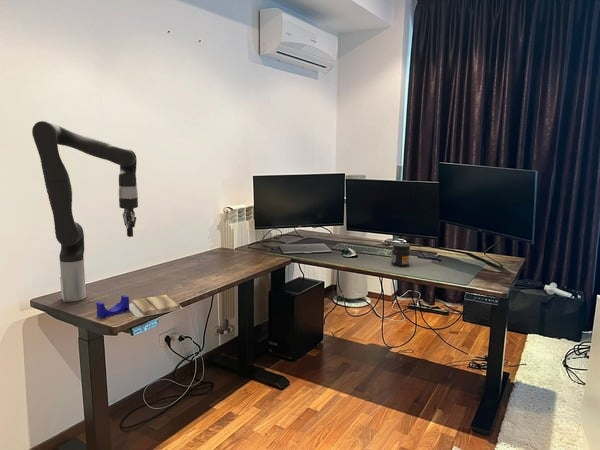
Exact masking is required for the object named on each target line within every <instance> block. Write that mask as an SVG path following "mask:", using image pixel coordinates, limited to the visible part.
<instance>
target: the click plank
mask: <svg viewBox="0 0 600 450" xmlns="http://www.w3.org/2000/svg"><path fill="white" fill-rule="evenodd" d="M145 299H146V300H147V301H148V302H149V303H150V304H151V305H152V306H153V307H155V308H156V311H157V312H158V313H159V312H165V311H170V310H175V309H180V306H181V304H180V303H179V302H177V301H175V299H174V298H172V297H171V296H170V295H169V294H160V295H154V296H149V297H146V298H145Z"/></svg>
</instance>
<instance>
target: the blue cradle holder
mask: <svg viewBox="0 0 600 450" xmlns="http://www.w3.org/2000/svg"><path fill="white" fill-rule="evenodd" d="M129 304H130V297H129V296H128V295H125V294H124V295H121V296H120V301H119V302H118V303H116V304H115V305H114V306H112V307H110V308H109V309H107V307H106V306H105V303H104V302H101V301H96V304H95V305H96V317H97V318H99V319H105V318H109V317H112V316H115V315H119V314H122V313H125V312H130V310H129Z"/></svg>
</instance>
